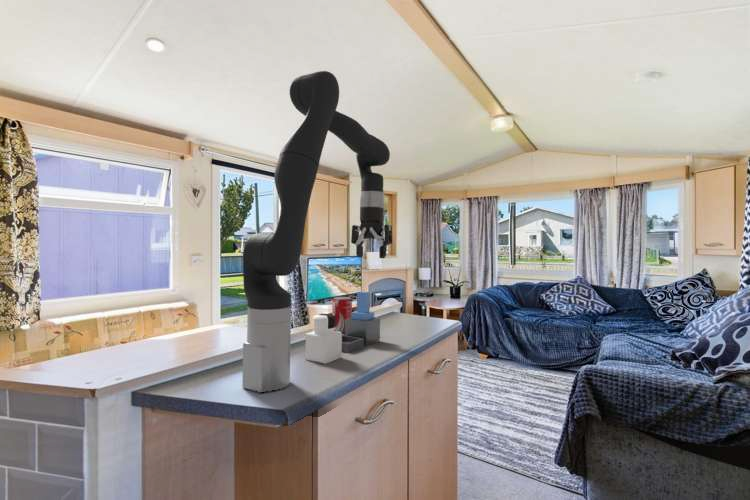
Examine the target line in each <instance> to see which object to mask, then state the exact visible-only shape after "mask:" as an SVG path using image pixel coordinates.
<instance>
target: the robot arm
mask: <svg viewBox="0 0 750 500" xmlns="http://www.w3.org/2000/svg"><path fill="white" fill-rule="evenodd" d="M290 82H291V83H290V85H289V98H290V100H291V103H292V105H293V106H294V108H295V109H296V110H297V111H298V112H300V113H301V114H302V115H303V116H305V117H304V119H303V121H302V122H301V123H300V125H299V126H298V127H297V128H296V129H295V130H294V132H293V133H292V134H291V135H290V137H288V139H287V140H286V142H285V143H284V144H283V146H282V148H281V150H280V154H279V155H278V159H277V163H276V166H275V169H274V170H275V171H274V184H275V189H276V191H277V195H278V196H277V197H278V199H279V203H280V214H279V218H278V222H277V227H276V228H275V231H274V232H258V233H253V235H252V234H251V236H249V237H248V239H247V240H246V241H245V244H244V247H243V251H242V272H243V274H242V276H243V292H244V294H245V297H246V300H247V320H246V323H247V325H246V326H247V327H246V328H247V329H246V342H243V344H242V385H241V386H242V388H244V389H247V390H249V391H253V392H256V391H257V392H256V393H259V392H260V393H259V394H262V393H261V392H264V393H266V392H265V391H268V392H273V391H272V390H275V391H279V390H278V389H280V390H282V388H283V389H285V388H287V387H288V386H289V385H290V383H291V335H292V332H291V331H292V330H291V329H292V327H291V326H292V295H291V293H290V292H289V291H288V290H286V289H285V288H284V287H282V286H281V285H280V283H279V282H278V277H285V276H289V275H290V274H292V273H293V272H294V271H295V269H296V268H297V266H298V265H299V261H300V259H301V258H300V257H301V253H302V247H303V242H304V241H303V240H304V233H305V226H306V220H307V214H308V209H309V205H310V202H311V197H312V194H313V190H314V189H313V188H314V186H315V182H316V178H317V174H318V171H319V167H320V160H321V157H322V153H323V149H324V145H325V142H326V139H327V135H328V132H329V133H331V134H333V135H334V136H335V137H337V138H338V139H339V140H341V142H343V143H344V144H345V145H346V146H347V147H348V148H349V150H351V151H352V152H354V153H355V158H356V162H357V166H358V171H359V175H360V178H361V179H360V180H361V183H360V185H361V188H360V191H361V192H360V199H359V202H360V203H359V204H360V205H359V221H360V225H355V224H353V225H352V226H351V239H350V240H351V241H350V242H351V244H353V245H355V247H356V249H355V250H356V251H355V252H356V256H357V258H363V257H364V244H365V242H366V241H367V240H369V239H371V240H373V239H375V240H376V241H377V242H378V243H379V245H380V246H379V248H378V250H379V255H378V257H379V259H385V258H386V256H387V247H388V246H389V245H392V244H393V225H391V224H385V225H384V219H385V218H384V213H385V212H384V209H385V208H384V207H385V199H384V198H385V197H384V175H382V174H381V173H378V172H373V171H372V167H381V166H384V165H386V164H387V163H388V162H389V161H390V157H391V153H390V149H389V147H388V146H387V144H386V143H385V142H384V141H383V140H381V139H380V138H378V137H376V136H374V135H372V134H370V133H369V132H368V131H367V130H366V129H365V128H364V127H363V126H362V125H361V123H360V122H358V121H357V120H355V119H354V118H352V117H350V116H348V115H346V114H344V113H342V112H339V111H337V108H338V104H339V100H340V86H339V85H340V84H339V81H338V79H337V77H336V76H335V75H334V73H332V72H330V71H326V70H321V71H316V72H311V73H309V74H304V75H300V76H297V77H295V78H294V79H293V80H292V81H290ZM382 232H384V234H383V233H382ZM277 276H278V277H277Z"/></svg>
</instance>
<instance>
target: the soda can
mask: <svg viewBox="0 0 750 500" xmlns="http://www.w3.org/2000/svg"><path fill="white" fill-rule="evenodd" d="M352 309H353V303H352V301H351V297H349V296H334V298H333V301H332V307H331V311H332V312H331V314H332V315H334V316H335V331H338V332H342V333H345V319H347V318H351V317H352V312H353V310H352Z"/></svg>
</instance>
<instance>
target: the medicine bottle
mask: <svg viewBox="0 0 750 500" xmlns="http://www.w3.org/2000/svg"><path fill="white" fill-rule="evenodd" d="M334 330H335V316H334V315H332V313H331V314H330V313H319V314H318V313H317V314H316V315H313V316H312V331H310V332H307V333H305V347H304V348H305V355H304V356H305V360H306V361H311V362H316V363H320V364H324V365H326V364H329V363H331V362H333V361H336V360H338V359H341V358H342V335H343V332H338V331H334Z"/></svg>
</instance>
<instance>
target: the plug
mask: <svg viewBox="0 0 750 500" xmlns="http://www.w3.org/2000/svg"><path fill="white" fill-rule="evenodd" d="M370 297H371V292H370V291H363V290H361V291H356V310H355V311H352V319H354V320H361V321H368V320H372V319H374V317H375V312H374V311H370V302H371V298H370Z"/></svg>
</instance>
